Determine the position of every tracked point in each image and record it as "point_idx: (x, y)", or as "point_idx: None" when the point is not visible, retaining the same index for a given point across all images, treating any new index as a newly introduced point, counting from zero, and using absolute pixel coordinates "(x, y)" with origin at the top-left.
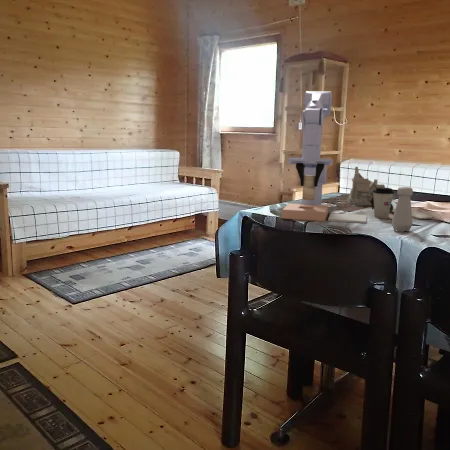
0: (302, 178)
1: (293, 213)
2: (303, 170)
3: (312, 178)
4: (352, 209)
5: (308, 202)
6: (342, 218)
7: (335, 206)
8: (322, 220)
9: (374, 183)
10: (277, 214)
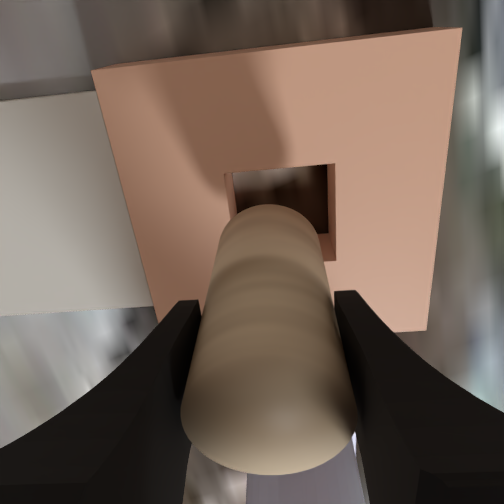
0: (358, 337)
1: (351, 38)
2: (381, 495)
3: (210, 345)
4: None
5: None
6: (24, 159)
7: (202, 496)
8: (129, 62)
9: None
10: (476, 178)
